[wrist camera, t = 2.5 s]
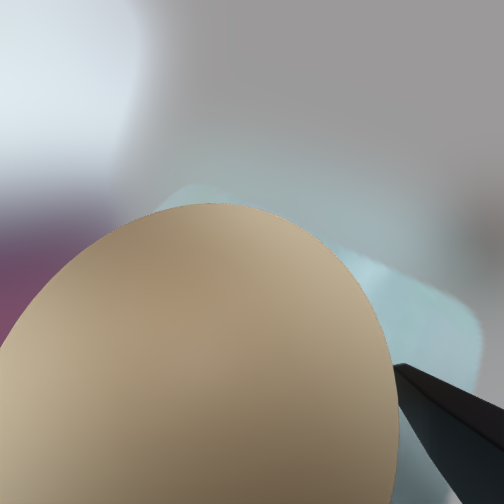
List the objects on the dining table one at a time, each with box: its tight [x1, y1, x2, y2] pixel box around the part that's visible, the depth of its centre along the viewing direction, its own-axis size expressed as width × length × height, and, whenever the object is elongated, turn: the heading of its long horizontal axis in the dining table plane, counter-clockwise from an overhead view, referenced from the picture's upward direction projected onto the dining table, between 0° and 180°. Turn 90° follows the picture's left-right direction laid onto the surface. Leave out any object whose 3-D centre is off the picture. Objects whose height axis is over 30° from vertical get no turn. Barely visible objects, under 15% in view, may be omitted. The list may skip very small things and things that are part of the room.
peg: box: [0, 203, 399, 504], centre depth 9 cm, size 5×5×14 cm
